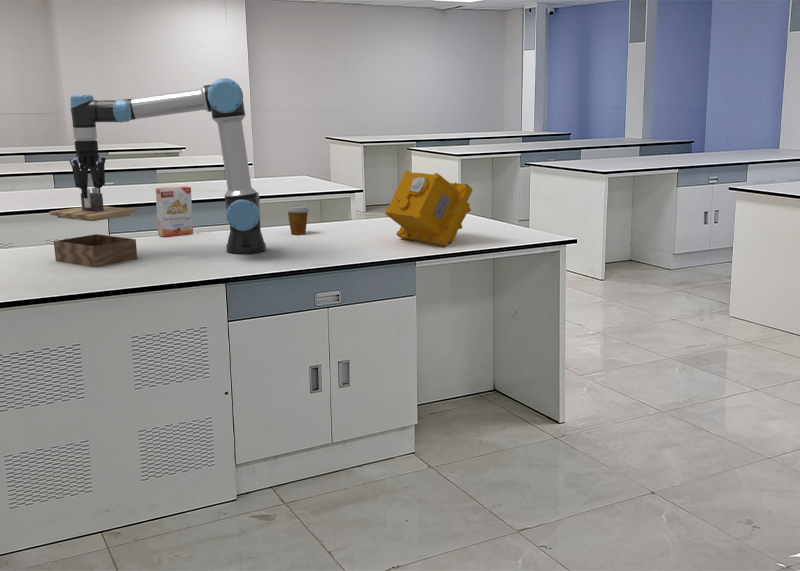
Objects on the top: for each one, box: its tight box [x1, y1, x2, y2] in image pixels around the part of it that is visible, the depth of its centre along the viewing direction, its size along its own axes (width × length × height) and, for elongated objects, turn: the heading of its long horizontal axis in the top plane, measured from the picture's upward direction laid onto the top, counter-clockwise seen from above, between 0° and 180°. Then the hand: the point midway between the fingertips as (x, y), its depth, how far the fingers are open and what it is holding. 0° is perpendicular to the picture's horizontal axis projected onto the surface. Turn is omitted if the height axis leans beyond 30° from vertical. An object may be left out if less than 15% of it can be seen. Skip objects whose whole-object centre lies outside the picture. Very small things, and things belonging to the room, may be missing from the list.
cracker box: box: [155, 185, 194, 238], centre depth 338 cm, size 14×6×21 cm, turn 130°
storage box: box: [53, 233, 138, 268], centre depth 281 cm, size 22×18×8 cm
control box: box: [384, 170, 473, 248], centre depth 319 cm, size 27×27×30 cm
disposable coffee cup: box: [286, 205, 309, 236], centre depth 341 cm, size 10×10×12 cm
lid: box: [48, 192, 137, 222], centre depth 278 cm, size 23×19×8 cm
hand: (92, 206), depth 278 cm, fingers closed on lid, 3 cm apart
